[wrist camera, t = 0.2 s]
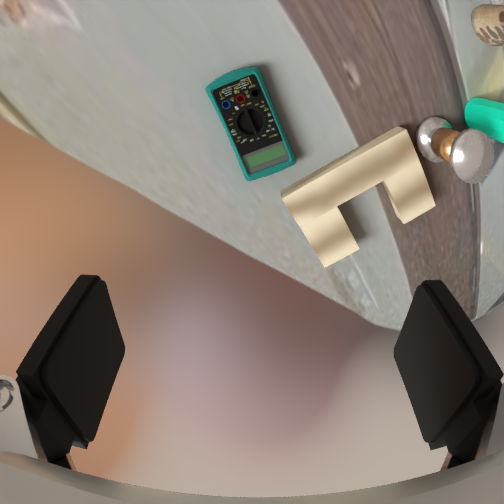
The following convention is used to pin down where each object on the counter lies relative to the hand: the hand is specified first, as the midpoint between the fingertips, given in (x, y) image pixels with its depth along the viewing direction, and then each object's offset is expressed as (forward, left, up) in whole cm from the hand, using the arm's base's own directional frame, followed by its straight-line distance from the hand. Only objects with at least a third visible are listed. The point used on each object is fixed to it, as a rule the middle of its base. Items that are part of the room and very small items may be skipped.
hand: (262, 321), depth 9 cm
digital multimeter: (-1, 0, -38) cm, 38 cm away
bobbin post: (+14, +23, -37) cm, 46 cm away
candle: (+14, +33, -37) cm, 52 cm away
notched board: (+16, +8, -37) cm, 41 cm away
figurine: (+1, +43, -37) cm, 57 cm away
